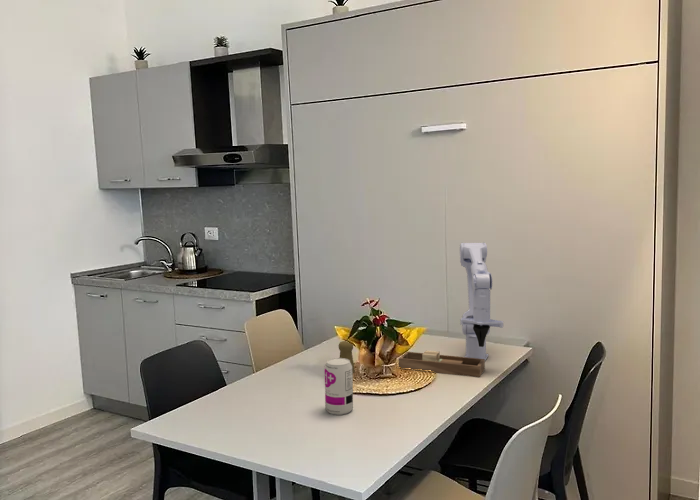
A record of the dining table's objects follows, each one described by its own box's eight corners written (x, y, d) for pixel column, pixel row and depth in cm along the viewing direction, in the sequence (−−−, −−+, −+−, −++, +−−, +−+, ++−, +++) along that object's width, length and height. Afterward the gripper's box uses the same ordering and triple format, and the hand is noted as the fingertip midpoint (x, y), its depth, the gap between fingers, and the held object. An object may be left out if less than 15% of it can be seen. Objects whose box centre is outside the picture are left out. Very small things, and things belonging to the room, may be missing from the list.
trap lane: (406, 361, 232) (406, 351, 232) (484, 369, 221) (484, 359, 221) (398, 368, 223) (398, 358, 223) (479, 377, 212) (479, 366, 212)
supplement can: (333, 417, 180) (331, 367, 178) (321, 408, 187) (319, 360, 185) (357, 412, 184) (356, 362, 182) (345, 403, 191) (344, 355, 189)
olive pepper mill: (355, 369, 224) (355, 339, 223) (354, 374, 218) (353, 344, 217) (338, 369, 224) (338, 339, 223) (336, 374, 219) (336, 343, 217)
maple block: (426, 358, 227) (426, 350, 226) (439, 359, 225) (439, 351, 224) (422, 362, 222) (422, 354, 222) (436, 363, 220) (436, 355, 220)
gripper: (458, 308, 214) (458, 347, 216) (501, 311, 209) (500, 350, 210) (462, 304, 221) (462, 341, 222) (504, 307, 215) (504, 345, 217)
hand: (481, 346), depth 217 cm, fingers closed
